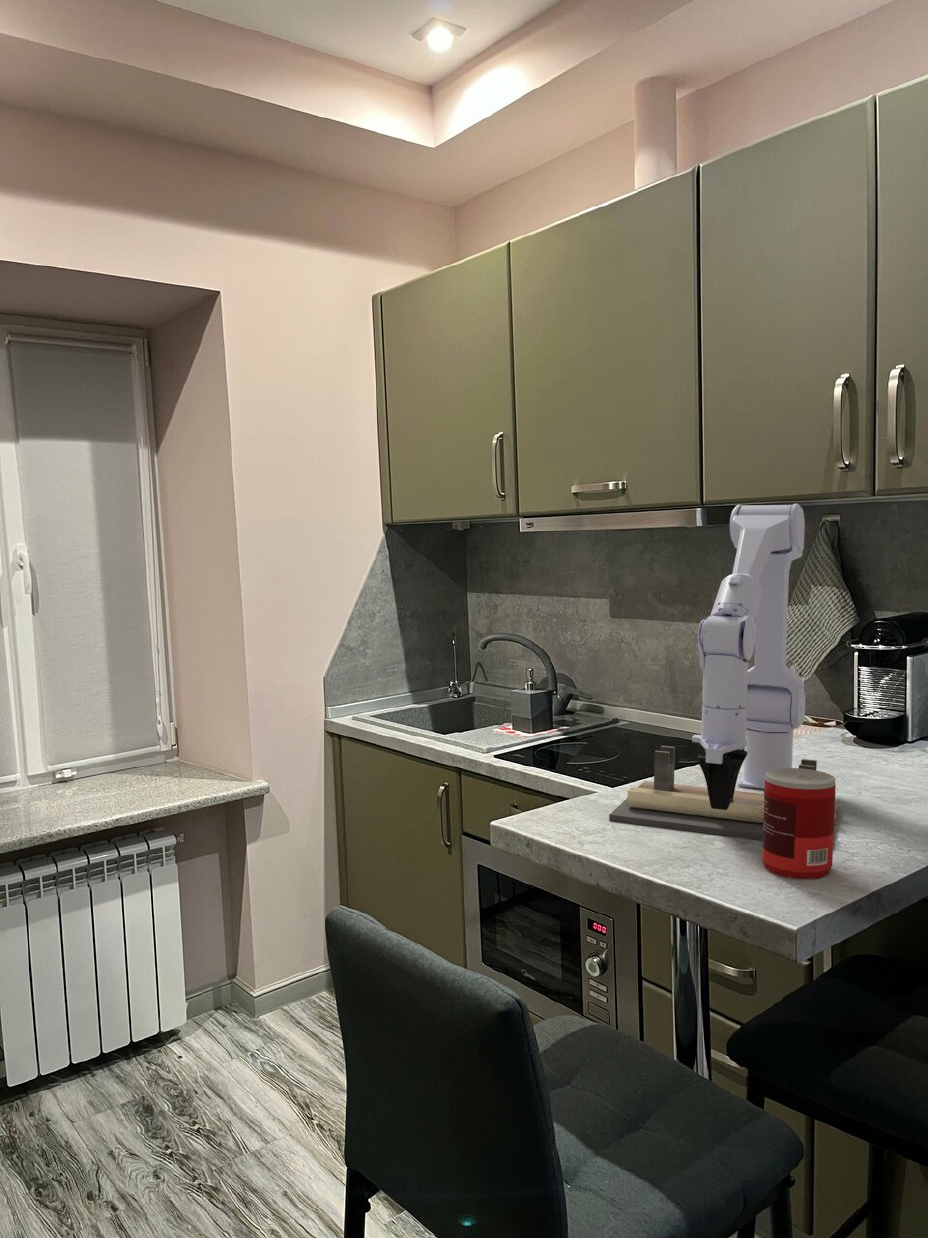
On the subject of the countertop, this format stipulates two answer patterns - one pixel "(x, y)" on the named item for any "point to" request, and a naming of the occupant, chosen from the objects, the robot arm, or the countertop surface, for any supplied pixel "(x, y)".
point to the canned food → (798, 822)
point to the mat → (687, 822)
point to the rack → (666, 783)
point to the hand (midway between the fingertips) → (721, 806)
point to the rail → (694, 805)
